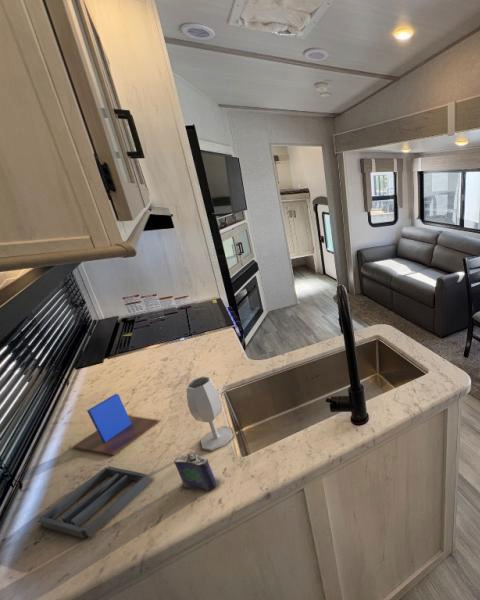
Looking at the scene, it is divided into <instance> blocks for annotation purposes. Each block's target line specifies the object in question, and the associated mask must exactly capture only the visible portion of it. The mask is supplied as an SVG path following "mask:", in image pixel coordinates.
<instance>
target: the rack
mask: <svg viewBox="0 0 480 600" xmlns="http://www.w3.org/2000/svg"><path fill="white" fill-rule="evenodd" d="M108 476H112V477H110V478H109V479H108V480H107V481H105V482H104V483H103V484H102V485H100V486H99V487H98V488H97V489H96V490H94V491H93V492H92V493H91V494H90V495H88V496H87V497H86V498H84V499H82V501H81V502H79V503H78V504H76V505H75V506H74V507H73V508H72V509H71V510H70V511H68V512H67V513H66V514H64V515H63V516H62V517H61V518H60V519H61V521H59V520H55V518H57V517H58V516H59V515H60V514H62V513H63V512H64V511H65V510H67V509H68V508H69V507H71V506H72V505H74V503H76V502H77V501H78V500H80V499H81V498H82V497H83V496H85V495H86V494H88V492H90V491H91V490H92V489H93V488H95V487H96V486H97V485H98V484H100V483H101V482H103V481H104V480H105V479H106V478H107V477H108ZM131 481H136V482H135V484H133V485H132V486H131V487H130V488H128V489H127V490H126V491H125V492H124V493H123V494H121V496H120V497H118V498H117V499H116V500H115V501H114V502H113V503H112V504H111V505H109V506H108V507H107V508H106V509H105V510H104V511H102V512H101V513H100V514H99V515H98V516H97V517H96V518H95V519H93V520H92V521H91V522H90V523H89V524H88V525H87V526H85V527H80V526H81V525H82V524H83V523H85V522H86V521H87V520H88V519H90V517H92V516H93V515H94V514H95V513H96V512H98V511H99V510H100V509H101V508H102V507H103V506H104V505H105V504H107V503H108V502H109V501H110V500H112V499H113V498H114V497H115V496H116V495H117V494H118V493H120V492H121V491H122V490H123V489H124V488H125V487H126V486H127V485H129V484H130V483H131ZM150 483H151V481H150V479H149V477H148V474H147V473H142V472H138V471H132V470H128V469H124V468H120V467H119V468H118V467H114V466H108V467H104V468H102V469H101V470H100V471H98V472H97V473H96V474H95V475H93V476H92V477H91V478H89V479H88V480H87V481H85V482H84V483H83V484H81V485H80V486H79V487H77V488H76V489H75V490H74V491H72V492H71V493H70V494H69V495H67V496H66V497H64V498H63V499H62V500H60V501H59V502H58V503H56V504H55V505H54V506H53V507H52V508H50V509H49V510H47V511H46V512H44V513H43V514H42V515H41V516H40V517H39V523H40V524H41V525H42V526H43V528H46V529H50V530H53V531H56V532H60V533H63V534H66V535H70V536H74V537H77V538H81V539H84V540H85V539H86V538H91V536H93V535H94V534H95V533H96V532H98V530H99V529H100V528H101V527H103V525H105V524H106V523H107V522H108V521H109V520H110V519H112V517H114V516H115V515H116V514H117V513H118V512H119V511H120V510H121V509H122V508H123V507H125V505H127V504H128V503H129V502H130V501H131V500H133V498H135V496H136V495H138V494H139V493H140V492H141V491H142V490H144V488H146V487H147V486H148V485H149V484H150Z"/></svg>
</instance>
